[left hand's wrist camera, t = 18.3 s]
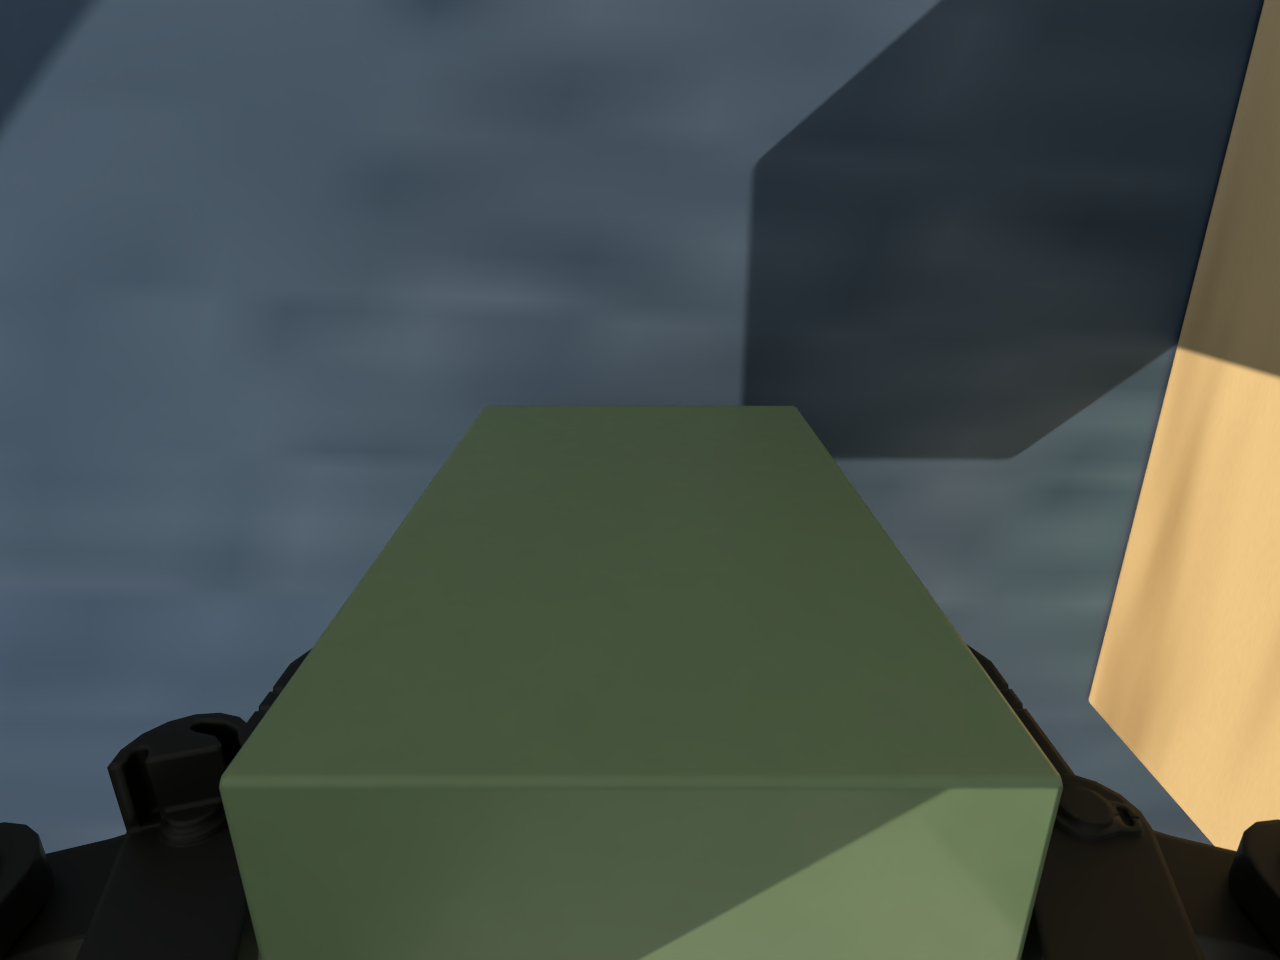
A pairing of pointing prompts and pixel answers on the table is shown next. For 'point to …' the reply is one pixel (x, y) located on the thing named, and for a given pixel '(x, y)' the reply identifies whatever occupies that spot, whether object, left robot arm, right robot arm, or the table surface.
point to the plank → (1214, 510)
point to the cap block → (640, 720)
